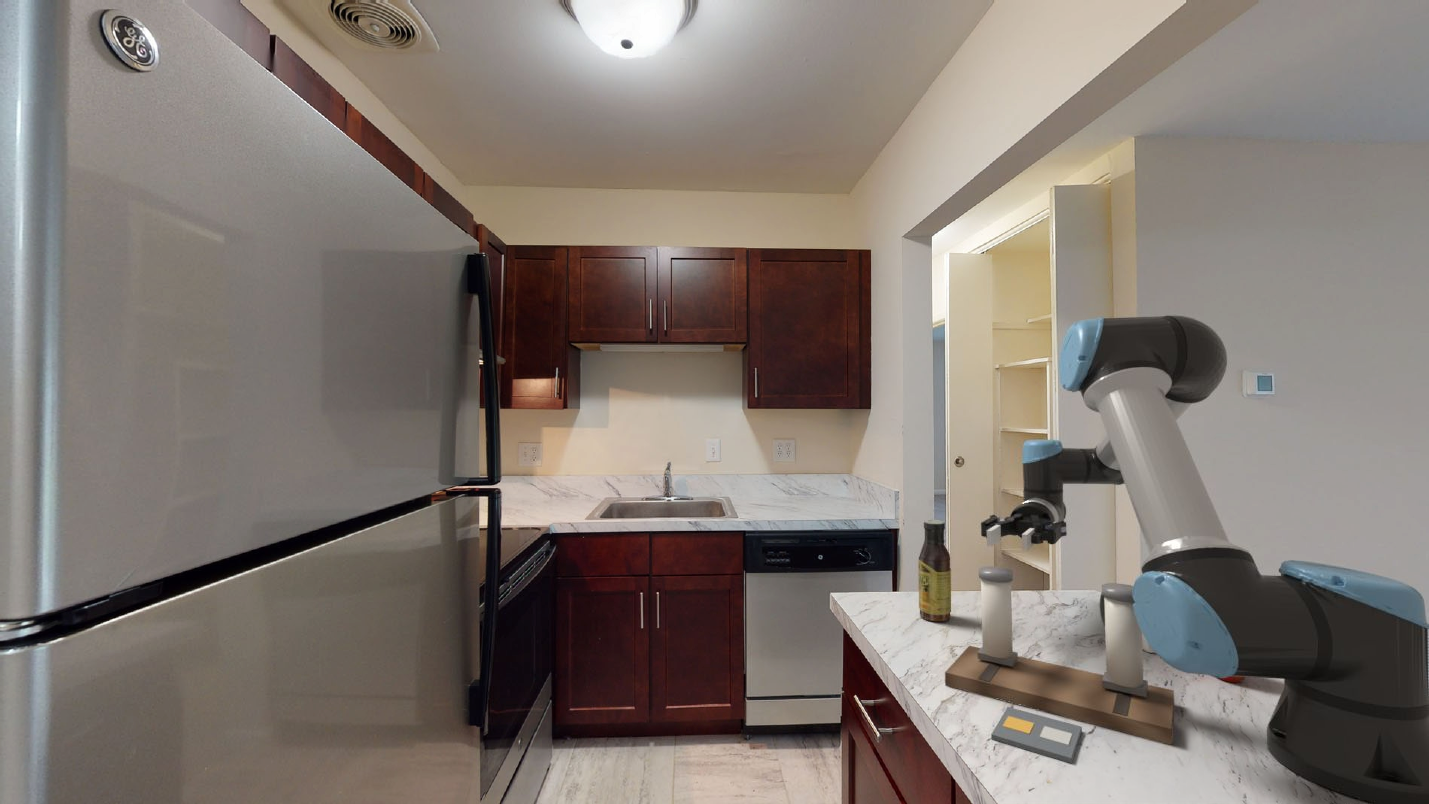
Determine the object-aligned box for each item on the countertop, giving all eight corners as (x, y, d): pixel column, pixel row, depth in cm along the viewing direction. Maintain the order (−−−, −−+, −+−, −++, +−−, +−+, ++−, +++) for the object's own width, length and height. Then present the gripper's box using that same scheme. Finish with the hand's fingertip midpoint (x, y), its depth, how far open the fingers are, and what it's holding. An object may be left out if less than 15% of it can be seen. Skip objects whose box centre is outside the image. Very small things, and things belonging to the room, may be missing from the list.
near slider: (1148, 685, 87) (1145, 587, 87) (1146, 699, 83) (1143, 595, 83) (1105, 676, 90) (1102, 581, 90) (1101, 689, 86) (1098, 589, 86)
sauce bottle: (915, 612, 126) (913, 517, 127) (946, 612, 126) (944, 517, 126) (923, 623, 120) (921, 523, 120) (956, 624, 119) (953, 523, 120)
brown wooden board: (1174, 704, 86) (1173, 689, 86) (1172, 745, 76) (1171, 728, 76) (969, 657, 103) (969, 645, 103) (945, 685, 93) (945, 671, 93)
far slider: (1018, 657, 97) (1016, 569, 97) (1011, 668, 93) (1009, 576, 94) (984, 650, 101) (982, 564, 101) (976, 660, 97) (974, 571, 97)
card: (1081, 731, 79) (1081, 725, 79) (1071, 763, 72) (1071, 757, 72) (1007, 710, 85) (1007, 705, 85) (991, 738, 78) (991, 733, 78)
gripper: (1086, 543, 116) (1067, 570, 98) (987, 533, 127) (953, 555, 109) (1085, 504, 116) (1065, 524, 98) (986, 497, 127) (952, 513, 109)
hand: (1006, 540), depth 103 cm, fingers open, 5 cm apart
